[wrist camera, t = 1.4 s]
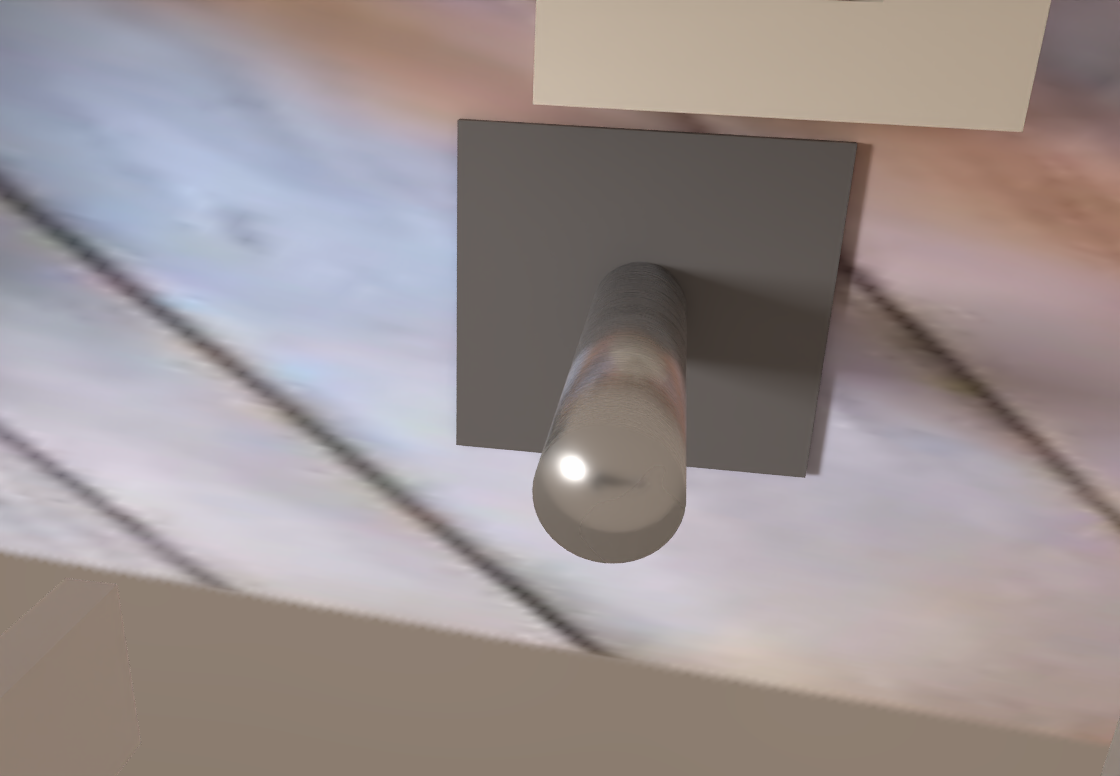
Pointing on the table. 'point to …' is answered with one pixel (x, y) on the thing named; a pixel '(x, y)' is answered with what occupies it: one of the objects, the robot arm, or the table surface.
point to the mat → (659, 238)
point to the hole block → (795, 58)
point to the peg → (620, 424)
